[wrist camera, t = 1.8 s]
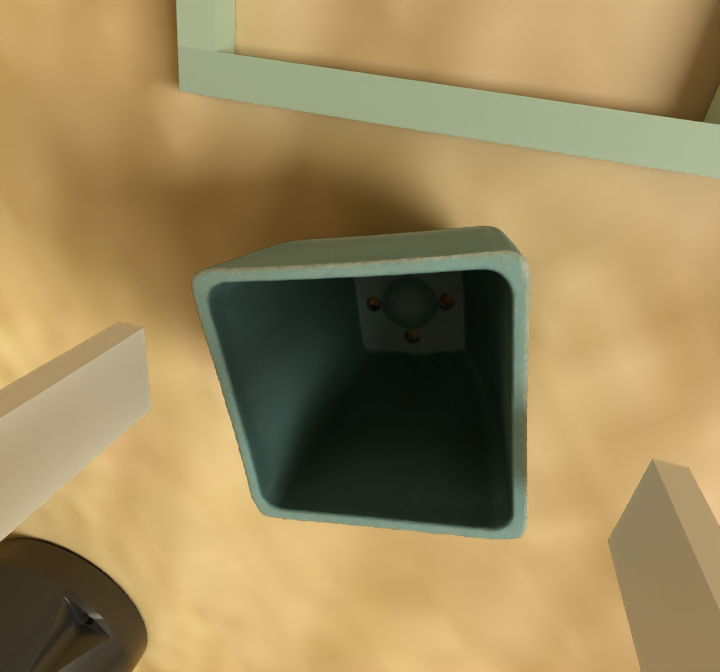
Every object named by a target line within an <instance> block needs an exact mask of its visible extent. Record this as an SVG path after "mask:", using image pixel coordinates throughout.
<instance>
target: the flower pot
mask: <svg viewBox="0 0 720 672" xmlns="http://www.w3.org/2000/svg"><path fill="white" fill-rule="evenodd" d="M191 287H192V293H193V296H194V300H195V304H196V307H197V312H198V315H199V318H200V320H201V323H202V327H203V330H204V333H205V338H206V340H207V344H208V346H209V350H210V354H211V357H212V360H213V363H214V367H215V369H216V373H217V376H218V380H219V382H220V385H221V389H222V393H223V396H224V399H225V404H226V407H227V410H228V413H229V416H230V419H231V422H232V426H233V429H234V432H235V436H236V440H237V443H238V446H239V448H238V449H239V452H240V454H241V459H242V462H243V465H244V469H245V473H246V476H247V480H248V485H249V489H250V493H251V496H252V499H253V501H254V502H255V504H256V506H257V508H258V509H259V511H260V512H261V513H262V514H263V515H265V516H268V517H274V518H281V519H284V520H285V519H289V520H299V521H314V522H326V523H334V524H346V525H354V526H368V527H375V528H388V529H393V530H406V531H417V532H424V533H431V534H448V535H456V536H465V537H473V538H484V539H517V538H520V537H522V536H523V534H524V532H525V530H526V527H527V520H528V512H527V392H528V343H529V300H530V270H529V265H528V262H527V260H526V258H525V257H524V256H523V255H522V254H521V253H520V251H519V250H518V249H517V248H516V246H515V245H514V244H513V243H512V241H511V240H510V239H509V238H508V237H507V236H506V235H505V234H504V233H503V232H502V231H501V230H499V229H497V228H495V227H490V226H475V227H465V228H454V229H443V230H431V231H420V232H408V233H395V234H383V235H369V236H354V237H340V238H323V239H306V240H296V241H289V242H284V243H280V244H277V245H274V246H271V247H267V248H264V249H261V250H258V251H256V252H253V253H250V254H247V255H244V256H241V257H238V258H235V259H232V260H229V261H226V262H223V263H220V264H217V265H214V266H212V267H209V268H206V269H203V270H201V271H199V272H197V273H196V274H195V275H194V276H193V277H192V281H191ZM444 295H450V296H452V297H453V299H454V301H453V303H452V304H451V305H450V306H446V305H444V304H443V303H442V302H441V297H442V296H444ZM373 297H375V298H377V299H379V301H380V305H379V306H378V307H377V308H374V307H372V306H371V305H370V304H369V300H370V299H371V298H373ZM411 330H416V331H418V333H419V337H418V338H416V339H411V338H410V337H409V336H408V332H409V331H411Z"/></svg>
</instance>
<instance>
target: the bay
mask: <svg viewBox="0 0 720 672" xmlns="http://www.w3.org/2000/svg"><path fill="white" fill-rule="evenodd" d="M176 11H177V39H178V67H179V92H185V93H191V94H197V95H204V96H210V97H216V98H222V99H228V100H235V101H241V102H247V103H253V104H259V105H266V106H272V107H278V108H284V109H290V110H297V111H303V112H309V113H315V114H321V115H328V116H334V117H340V118H346V119H352V120H359V121H365V122H371V123H377V124H383V125H390V126H396V127H402V128H408V129H414V130H421V131H427V132H433V133H439V134H445V135H452V136H458V137H464V138H470V139H476V140H483V141H489V142H495V143H501V144H507V145H514V146H520V147H526V148H532V149H538V150H545V151H551V152H557V153H563V154H569V155H575V156H582V157H588V158H594V159H600V160H606V161H613V162H619V163H625V164H631V165H637V166H644V167H650V168H656V169H662V170H668V171H675V172H681V173H687V174H693V175H699V176H706V177H712V178H718V179H720V83H719V86H718V88H717V91H716V93H715V95H714V98H713V100H712V102H711V105H710V107H709V109H708V112H707V114H706V116H705V119H704V121H703V122H697V121H690V120H683V119H677V118H670V117H663V116H656V115H649V114H642V113H635V112H628V111H622V110H615V109H608V108H601V107H594V106H587V105H580V104H573V103H566V102H560V101H553V100H546V99H539V98H532V97H525V96H518V95H511V94H505V93H498V92H491V91H484V90H477V89H470V88H463V87H456V86H449V85H443V84H436V83H429V82H422V81H415V80H408V79H401V78H394V77H388V76H381V75H374V74H367V73H360V72H353V71H346V70H339V69H332V68H326V67H319V66H312V65H305V64H298V63H291V62H284V61H277V60H271V59H264V58H257V57H250V56H243V55H236V54H235V0H176Z"/></svg>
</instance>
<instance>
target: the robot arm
mask: <svg viewBox="0 0 720 672" xmlns="http://www.w3.org/2000/svg"><path fill="white" fill-rule="evenodd" d="M149 410H151V401H150V390H149V379H148V368H147V357H146V346H145V335H144V328H143V327H139V326H135V325H131V324H127V323H123V322H120V321H119V322H117V323H116V324H114V325H112V326H110V327H109V328H107V329H105V330H104V331H102V332H100V333H98V334H97V335H95V336H93V337H91V338H90V339H88V340H86V341H84V342H83V343H81V344H79V345H77V346H76V347H74V348H72V349H70V350H69V351H67V352H65V353H63V354H62V355H60V356H58V357H56V358H55V359H53V360H51V361H50V362H48V363H46V364H44V365H43V366H41V367H39V368H37V369H36V370H34V371H32V372H30V373H29V374H27V375H25V376H23V377H22V378H20V379H18V380H16V381H15V382H13V383H11V384H9V385H8V386H6V387H4V388H2V389H1V390H0V672H132V671H133V670H134V668H135V666H136V665H137V663H138V662H139V660H140V659H141V657H142V655H143V654H144V652H145V650H146V647H147V632H146V628H145V625H144V622H143V620H142V618H141V616H140V614H139V612H138V611H137V609H136V608H135V606H134V605H133V603H132V602H131V601H130V599H129V598H128V597H127V596H126V595H125V594H124V592H123V591H122V590H121V589H120V588H119V587H118V586H117V585H116V584H115V583H114V582H113V581H111V580H110V579H109V578H108V577H107V576H106V575H104V574H103V573H102V572H100V571H99V570H98V569H96V568H95V567H94V566H92V565H91V564H89V563H88V562H86V561H84V560H83V559H81V558H79V557H77V556H76V555H74V554H72V553H70V552H68V551H65V550H63V549H61V548H58V547H56V546H53V545H50V544H47V543H44V542H40V541H35V540H29V539H11V540H6V541H3V542H1V541H2V540H3V539H4V538H5V537H6V536H7V535H8V534H10V533H11V532H12V531H13V530H14V529H15V528H16V527H18V526H19V525H20V524H21V523H22V522H23V521H24V520H26V519H27V518H28V517H29V516H30V515H31V514H32V513H33V512H35V511H36V510H37V509H38V508H39V507H40V506H41V505H43V504H44V503H45V502H46V501H47V500H48V499H49V498H51V497H52V496H53V495H54V494H55V493H56V492H57V491H58V490H60V489H61V488H62V487H63V486H64V485H65V484H66V483H68V482H69V481H70V480H71V479H72V478H73V477H74V476H76V475H77V474H78V473H79V472H80V471H81V470H82V469H83V468H85V467H86V466H87V465H88V464H89V463H90V462H91V461H93V460H94V459H95V458H96V457H97V456H98V455H99V454H101V453H102V452H103V451H104V450H105V449H106V448H107V447H108V446H110V445H111V444H112V443H113V442H114V441H115V440H116V439H118V438H119V437H120V436H121V435H122V434H123V433H124V432H126V431H127V430H128V429H129V428H130V427H131V426H132V425H133V424H135V423H136V422H137V421H138V420H139V419H140V418H141V417H143V416H144V415H145V414H146V413H147V412H148V411H149ZM608 543H609V547H610V551H611V555H612V559H613V563H614V567H615V571H616V575H617V579H618V583H619V587H620V591H621V594H622V598H623V602H624V606H625V610H626V614H627V618H628V622H629V626H630V630H631V634H632V638H633V642H634V646H635V650H636V654H637V657H638V661H639V665H640V669H641V672H720V526H719V524H718V522H717V520H716V518H715V516H714V515H713V513H712V511H711V509H710V507H709V505H708V503H707V501H706V499H705V498H704V496H703V494H702V492H701V490H700V488H699V486H698V484H697V482H696V480H695V479H694V477H693V475H692V473H691V471H690V469H689V468H688V467H684V466H680V465H676V464H672V463H668V462H664V461H660V460H657V459H652V461H651V463H650V464H649V466H648V468H647V470H646V472H645V474H644V475H643V477H642V479H641V481H640V483H639V484H638V486H637V488H636V490H635V492H634V494H633V495H632V497H631V499H630V501H629V503H628V504H627V506H626V508H625V510H624V512H623V514H622V515H621V517H620V519H619V521H618V523H617V524H616V526H615V528H614V530H613V532H612V533H611V535H610V537H609V539H608Z"/></svg>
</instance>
